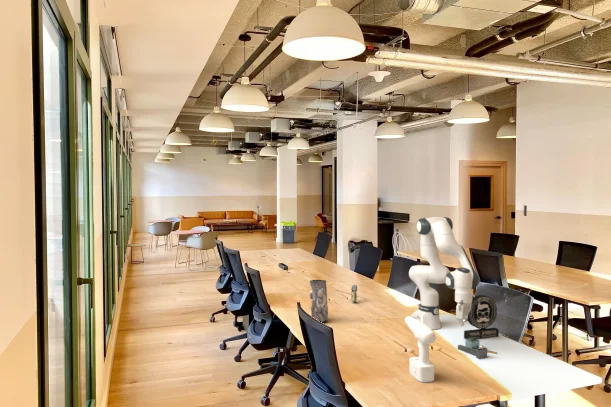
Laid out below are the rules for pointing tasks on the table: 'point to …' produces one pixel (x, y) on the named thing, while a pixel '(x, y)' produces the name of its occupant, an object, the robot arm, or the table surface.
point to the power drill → (421, 351)
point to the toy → (353, 293)
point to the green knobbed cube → (472, 343)
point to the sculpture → (319, 300)
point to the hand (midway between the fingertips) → (463, 323)
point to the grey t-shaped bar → (475, 351)
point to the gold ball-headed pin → (491, 352)
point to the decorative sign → (482, 318)
